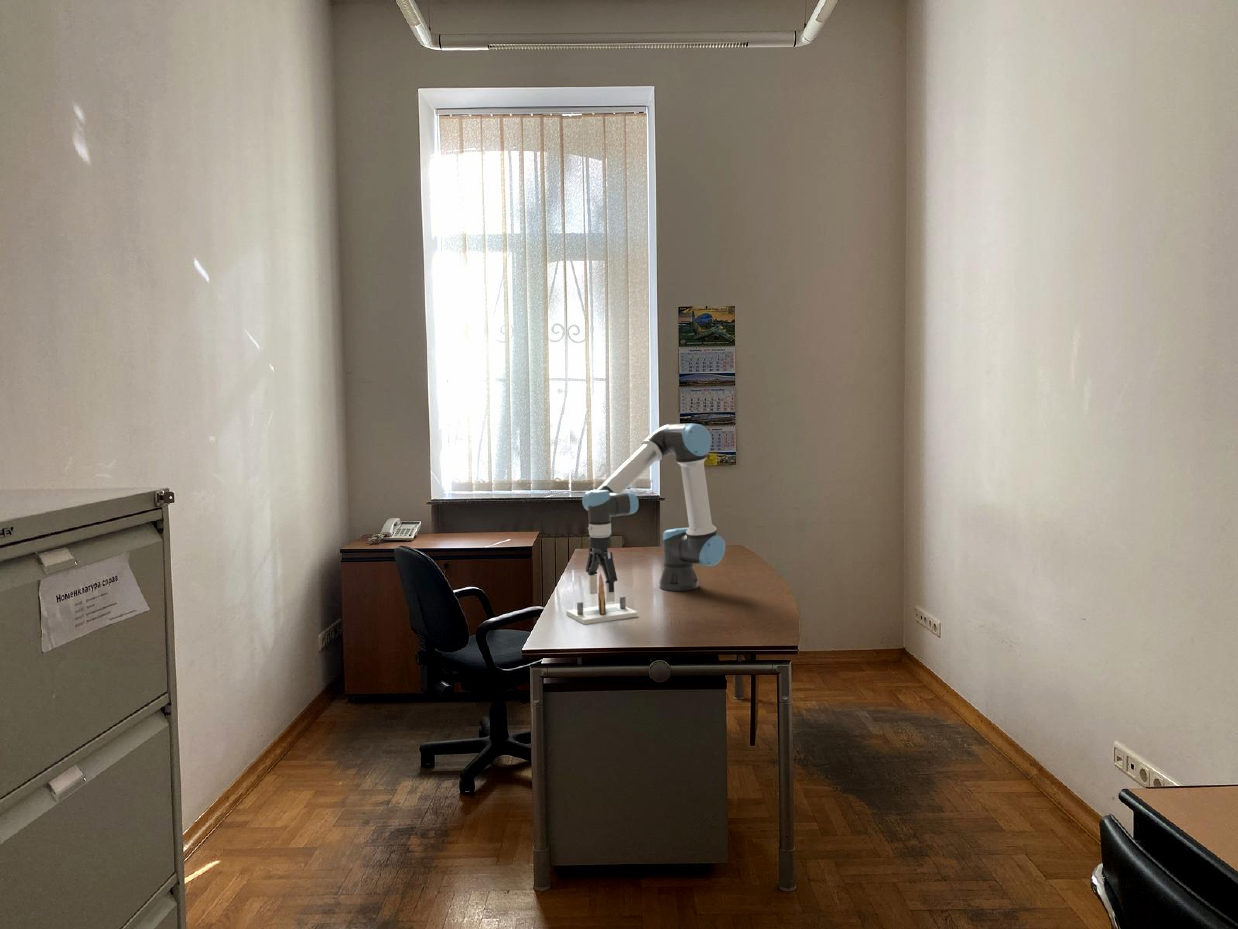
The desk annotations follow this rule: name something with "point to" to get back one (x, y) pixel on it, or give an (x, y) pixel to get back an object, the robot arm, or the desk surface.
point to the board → (594, 615)
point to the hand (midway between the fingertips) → (601, 597)
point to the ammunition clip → (601, 596)
